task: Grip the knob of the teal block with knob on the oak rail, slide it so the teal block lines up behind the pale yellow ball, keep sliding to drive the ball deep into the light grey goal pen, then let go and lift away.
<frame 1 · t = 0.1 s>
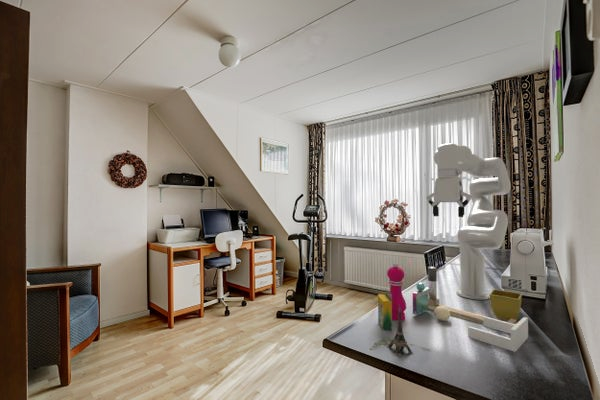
hand: (448, 216, 115), 37 cm above the worktop, tool pointing down, fingers open, 9 cm apart
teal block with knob: (424, 289, 110), point 9 cm above the worktop, slide at 0.0 cm
flower pot: (506, 319, 103), on the worktop
pepper mill: (395, 318, 104), on the worktop
oak rail: (462, 316, 105), on the worktop
goal pen: (496, 336, 89), on the worktop
eiffel tower figurine: (401, 352, 81), on the worktop
ball: (442, 313, 102), point 2 cm above the worktop
crayon box: (384, 327, 96), on the worktop
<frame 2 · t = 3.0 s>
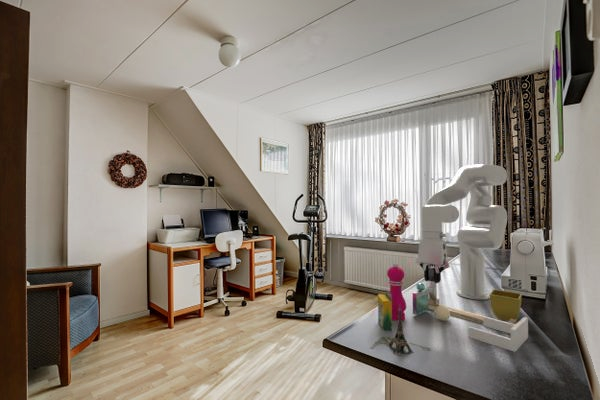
hand: (432, 281, 114), 11 cm above the worktop, tool pointing down, fingers closed on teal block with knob, 3 cm apart
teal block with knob: (424, 289, 110), point 8 cm above the worktop, slide at 0.0 cm, touching gripper
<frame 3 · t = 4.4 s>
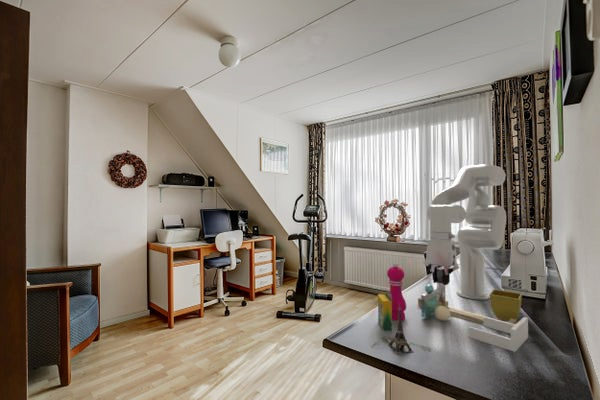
hand: (441, 282, 111), 11 cm above the worktop, tool pointing down, fingers closed on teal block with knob, 3 cm apart
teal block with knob: (433, 291, 107), point 9 cm above the worktop, slide at 3.4 cm, touching gripper
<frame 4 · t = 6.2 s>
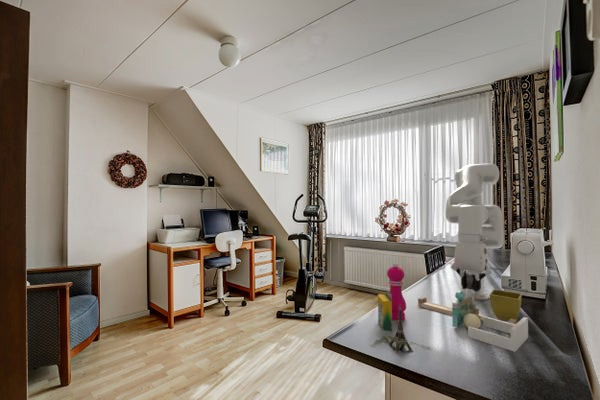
hand: (470, 289, 103), 11 cm above the worktop, tool pointing down, fingers closed on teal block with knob, 3 cm apart
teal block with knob: (464, 298, 99), point 8 cm above the worktop, slide at 14.1 cm, touching gripper
ball: (471, 321, 94), point 2 cm above the worktop, tilted 141°
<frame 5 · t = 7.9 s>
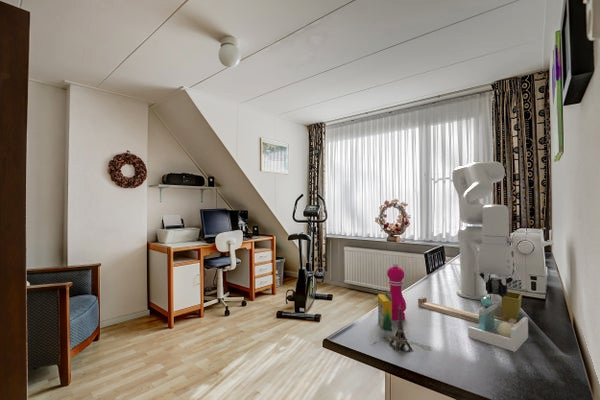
hand: (496, 294, 97), 11 cm above the worktop, tool pointing down, fingers closed on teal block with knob, 3 cm apart
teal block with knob: (490, 304, 93), point 8 cm above the worktop, slide at 22.0 cm, touching gripper
ball: (506, 331, 87), point 2 cm above the worktop, tilted 80°
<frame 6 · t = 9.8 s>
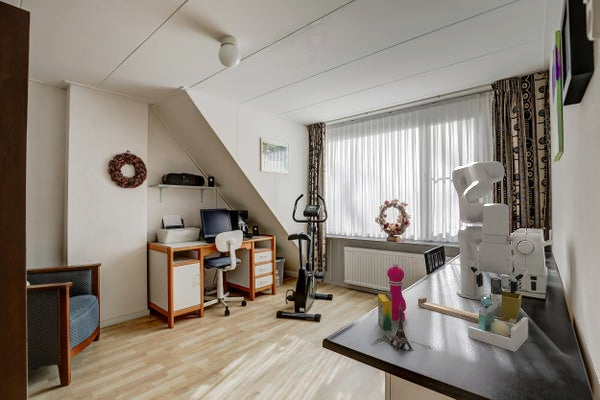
hand: (496, 289, 97), 12 cm above the worktop, tool pointing down, fingers open, 9 cm apart
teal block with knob: (490, 304, 93), point 8 cm above the worktop, slide at 22.0 cm
ball: (499, 329, 88), point 2 cm above the worktop, tilted 40°
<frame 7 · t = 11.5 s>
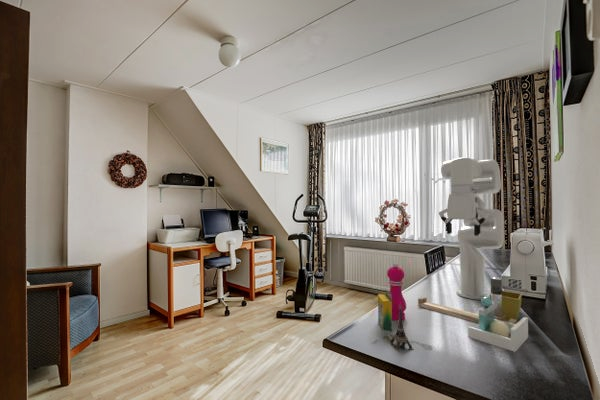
hand: (462, 234, 110), 30 cm above the worktop, tool pointing down, fingers open, 9 cm apart
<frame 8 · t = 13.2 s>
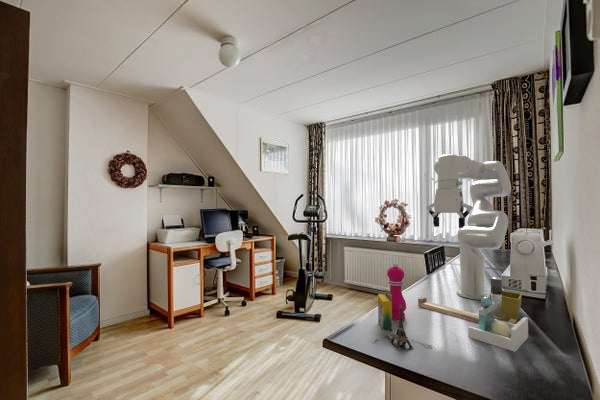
hand: (448, 227, 115), 32 cm above the worktop, tool pointing down, fingers open, 9 cm apart
at the end: ball inside the target area (0.6 cm from its centre), point 2.5 cm above the worktop; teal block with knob slide at 22.0 cm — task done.
